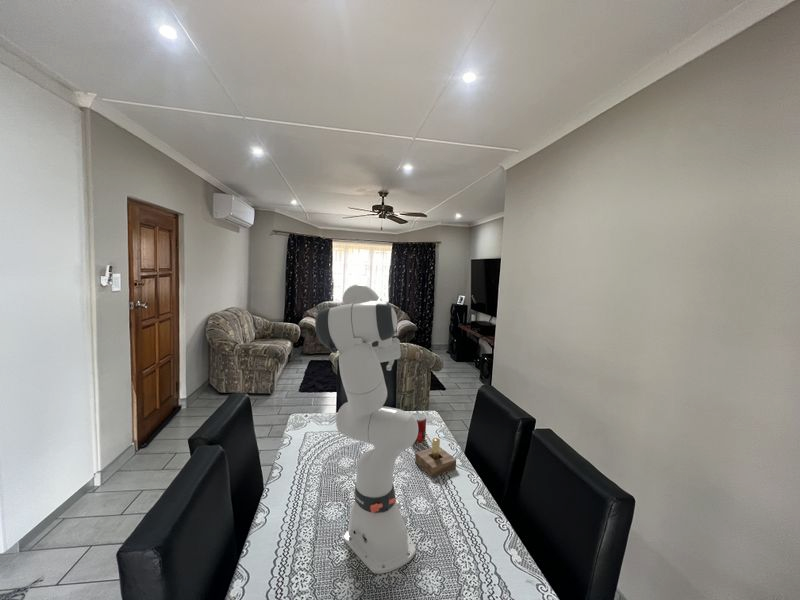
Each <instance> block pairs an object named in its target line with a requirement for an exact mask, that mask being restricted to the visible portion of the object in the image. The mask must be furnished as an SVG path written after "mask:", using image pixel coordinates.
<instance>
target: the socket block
mask: <svg viewBox="0 0 800 600" xmlns="http://www.w3.org/2000/svg"><path fill="white" fill-rule="evenodd" d="M414 456H415V458H414V460H415V461H414V462H415V463H416V464H417V465H418V466H419V467H420V468H421V469H423V470H424V471H425V473H427V474H428V475H429V476H430V477H431V478H434V477H437V476H440V475H443V474H446V473H448V472H450V471H453V470H456V469H457V458H455V457H454V456H452V455H451V454H450V453H449V452H447V451H446V450H444V449H443V448H441V447H440V448H439V459H437V460H434V459H432V447H430V448H427V449H424V450H421V451H417V452H415V455H414Z"/></svg>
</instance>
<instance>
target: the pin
mask: <svg viewBox="0 0 800 600" xmlns="http://www.w3.org/2000/svg"><path fill="white" fill-rule="evenodd" d="M431 443H432V445H431V448H432V459H434V460H437V459H439V448H441V446H440V443H441V439H439V438H437V437H434V438H432V442H431Z"/></svg>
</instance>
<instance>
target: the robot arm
mask: <svg viewBox="0 0 800 600" xmlns="http://www.w3.org/2000/svg"><path fill="white" fill-rule="evenodd" d="M314 323H315V324H314V329H315V334H316V336H317V339H318V341H319V342H320V343H321V345H323V346H324V347H326V348H328V350H329V351H330V352H331V353H332V354H336V353H338V366H339V374H340V378H341V382H342V385H343V389H344V393H345V395H346V398H347V402H344V403H343V404H342V405H341V406H340V407H339V409H338V411H337V414H336V416H335V426H336V429H337V431H338V433H340V434H341V435H343V436H345V437H347V438H349V439H352V440H355V441H359V442H364V443H367V444H370V445H373V446H374V447H373V448H372V449H370V450H368V451H366V452H364V453H363V454H361V455H360V456H359V457H358V459H357V462H356V483H354V484H355V486H354V490H353V491H354V492H353V493H354V496H353V497H354V501H353V504H352V506H351V509H350V511H349V519H348V530H347V531H346V532H345V534H344V535H343V536H344V538H343V540H344V542H345V543H346V545H347V546H348V547H349V548H350V549H351V550H352V552H354V553H355V555H356V556H357V557H358V558H359V559H360V560H361V562H363V564H364V565H365V566H366V567H367V568H368V570H370V571H371V572H372V573H373V574H385V573H386V574H387V573H390V572H392V571H395V570H397V569H399V568H401V567H403V566H405V565H406V564H407V563H409V562H410V561H411V560H412V559H413V558H414V557H415V555H416V552H417V550H416V546H415V545H414V542H413V540H412V538H411V536H410V534H409V532H408V528H407V526H406V524H408V517H407V515H406V514H402V513H401V510H400V508H401V506H400V503H397V499H398V498H397V497H396V489H395V485H394V481H393V480H394V472H395V465H396V464H395V463H396V461H397V459H398V458H399V456H400V455H401V454H402V452H404V451H406V450H407V449H410V448H411V447H412V446H413V445H414V443H416V442H415V441H416V439H417V436H418V423H417V420H416V418H415V417H414V415H412V414H413V413H410V412H407V411H405V410H403V409H400V408H395V407H391V406H384V405H385V403H386V400H387V398H388V388H387V385H386V381H385V376H384V371H383V368H382V365H381V363H384V362H385V363H386V362H388V363H387V365H386V371H389V372H390V371H392V368H393V365H394V364H395V363H394V362H395V360H399V359H401V356H402V352H401V345H400V344H401V343H400V340H401V339H399V338H398V337H394V335H395V334H396V333H397V332H396V330H397V327H398V317H397V313H396V310H395V309H394V307H393V305H392V303H391V302H388V301H384V300H382V299H381V298H380V296H379V295H378V294H377V293H376V292H375V290H374V289H372V288H370V287H369V286H367V285H366V284H362V283H361V284H360V283H359V284H358V283H356V284H353V285H351V286H349V287H348V288H347V289H346V290H345V291H344V293H343V296H342V305H337V306H334V307H332V306H329V307H326V308H323V309H321V310H319V311H318V313H317V314H316V316H315V320H314Z"/></svg>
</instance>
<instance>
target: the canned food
mask: <svg viewBox="0 0 800 600" xmlns="http://www.w3.org/2000/svg"><path fill="white" fill-rule="evenodd" d="M411 414H412V415H414V417H415V418H416V420H417V423H418V436H417V439H416V441H415V442H414V443H422V442H424V441H425V439H426V432H427V431H426V430H427V429H426V428H427V416H426V415H425V414H423V413H419V412H415V413H411Z"/></svg>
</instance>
